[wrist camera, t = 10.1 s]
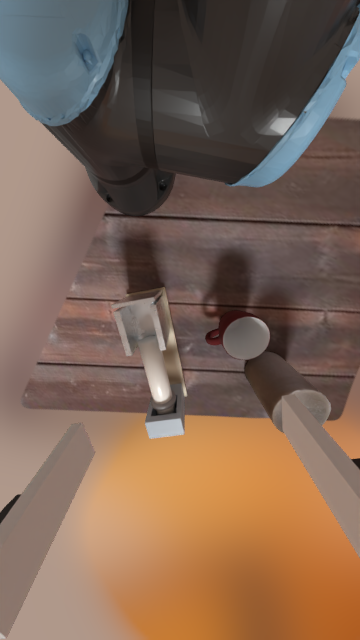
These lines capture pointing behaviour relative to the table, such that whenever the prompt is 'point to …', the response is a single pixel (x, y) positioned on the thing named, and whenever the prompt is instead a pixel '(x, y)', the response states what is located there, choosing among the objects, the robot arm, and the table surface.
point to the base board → (170, 348)
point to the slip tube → (157, 376)
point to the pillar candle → (283, 387)
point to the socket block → (167, 417)
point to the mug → (241, 335)
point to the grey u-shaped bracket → (142, 319)
